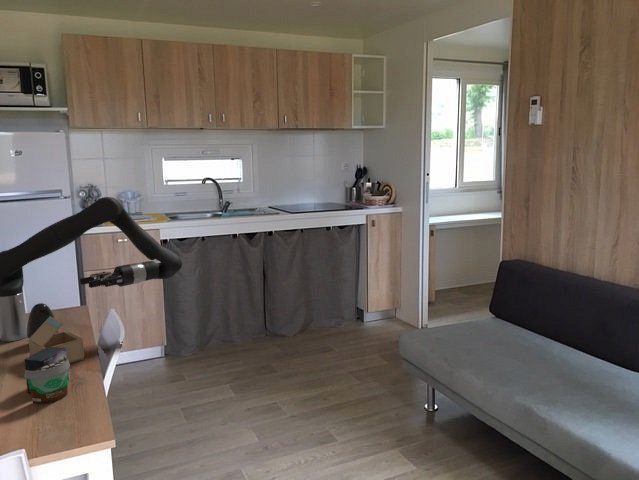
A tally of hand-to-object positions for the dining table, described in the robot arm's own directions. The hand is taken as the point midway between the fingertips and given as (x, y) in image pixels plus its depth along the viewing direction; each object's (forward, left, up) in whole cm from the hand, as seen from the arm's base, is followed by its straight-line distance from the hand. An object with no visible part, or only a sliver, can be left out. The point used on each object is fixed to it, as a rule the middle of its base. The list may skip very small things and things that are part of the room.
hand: (84, 283), depth 182 cm
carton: (0, -12, -24) cm, 27 cm away
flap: (0, -18, -17) cm, 25 cm away
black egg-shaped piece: (-20, -9, -24) cm, 33 cm away
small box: (+20, -22, -24) cm, 38 cm away
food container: (+30, -24, -24) cm, 45 cm away
